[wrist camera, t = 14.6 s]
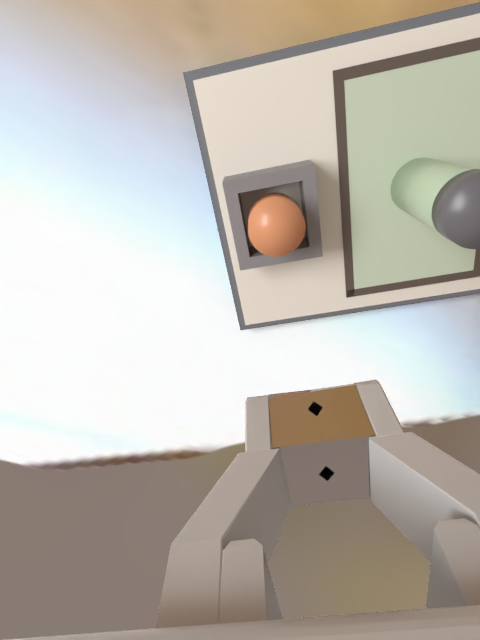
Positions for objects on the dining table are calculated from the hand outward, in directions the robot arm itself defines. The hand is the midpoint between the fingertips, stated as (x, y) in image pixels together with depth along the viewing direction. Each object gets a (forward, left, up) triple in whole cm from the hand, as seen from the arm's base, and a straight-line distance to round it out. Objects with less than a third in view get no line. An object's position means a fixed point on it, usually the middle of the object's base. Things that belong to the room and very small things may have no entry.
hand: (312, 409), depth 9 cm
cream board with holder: (-7, 0, -21) cm, 22 cm away
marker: (-10, 0, -19) cm, 22 cm away
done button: (0, 0, -17) cm, 17 cm away
